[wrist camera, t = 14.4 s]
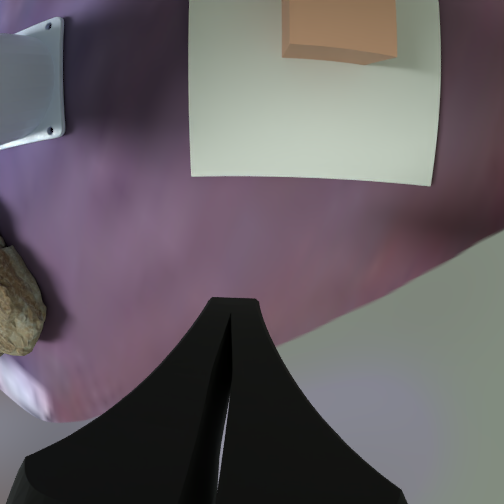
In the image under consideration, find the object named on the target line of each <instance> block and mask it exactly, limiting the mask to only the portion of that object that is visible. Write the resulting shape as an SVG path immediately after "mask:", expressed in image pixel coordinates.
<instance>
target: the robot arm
mask: <svg viewBox="0 0 504 504" xmlns="http://www.w3.org/2000/svg"><path fill="white" fill-rule="evenodd" d="M50 24H52V26H51V28H50V29H49V26H50ZM63 33H64V20H63V18H61V17H54V18H52V19H49V20H46V21H44V22H41V23H39V24H36V25H34V26H31V27H29V28H27V29H24V30H22V31H20V32H18V33H15V34H6V33H0V150H2V149H6V148H10V147H14V146H19V145H23V144H28V143H32V142H37V141H42V140H47V139H52V138H58V137H61V136H62V135H63V134H64V133H65V116H64V98H63ZM51 127H52V128H53V134H52V133H51V131H50V129H51ZM229 397H230V401H229ZM228 403H229V410H228V418H227V425H226V434H225V441H224V448H223V455H222V463H221V470H220V477H219V484H218V470H219V456H220V448H221V441H222V435H223V430H224V424H225V419H226V414H227V408H228ZM217 485H218V490H217ZM6 504H408V503H407V501H406V499H405V497H404V494H403V492H402V490H401V489H400V488H398V487H397V486H396V485H394V484H393V483H391V482H390V481H389V480H388V479H386V478H385V477H384V476H382V475H381V474H380V473H379V472H377V471H376V470H375V469H374V468H372V467H371V466H370V465H369V464H368V463H367V462H365V461H364V460H363V459H362V458H361V457H360V456H359V455H358V454H357V453H356V452H355V451H353V450H352V449H351V448H350V447H349V446H348V445H347V444H346V443H345V442H344V441H343V440H342V439H341V437H340V436H339V435H338V434H337V433H336V432H335V431H334V430H333V429H332V428H331V427H330V426H329V425H328V424H327V422H326V421H325V420H324V419H323V418H322V417H321V416H320V414H319V413H318V412H317V411H316V410H315V408H314V407H313V406H312V405H311V403H310V402H309V401H308V400H307V398H306V396H305V395H304V394H303V392H302V391H301V389H300V388H299V387H298V385H297V384H296V382H295V381H294V379H293V377H292V376H291V374H290V373H289V371H288V369H287V368H286V366H285V364H284V362H283V361H282V359H281V357H280V355H279V353H278V351H277V349H276V347H275V345H274V343H273V341H272V339H271V337H270V335H269V332H268V330H267V328H266V325H265V322H264V320H263V317H262V313H261V310H260V305H259V301H257V300H256V299H252V298H223V297H212V298H211V299H210V300H209V301H208V303H207V304H206V306H205V307H204V309H203V311H202V312H201V314H200V315H199V317H198V318H197V319H196V321H195V322H194V324H193V325H192V326H191V328H190V329H189V330H188V332H187V333H186V334H185V335H184V337H183V338H182V339H181V341H180V342H179V343H178V344H177V346H176V347H175V348H174V349H173V350H172V351H171V352H170V354H169V355H168V356H167V357H166V358H165V359H164V360H163V361H162V363H161V364H160V365H159V366H158V367H157V368H156V369H155V370H154V371H153V372H152V373H151V374H150V375H149V376H148V377H147V378H146V379H145V380H144V381H143V382H142V383H140V384H139V385H138V386H137V387H136V388H135V389H134V390H133V391H131V392H130V393H129V394H128V395H127V396H125V397H124V398H123V399H122V400H121V401H119V402H118V403H117V404H116V405H114V406H113V407H112V408H110V409H109V410H108V411H106V412H105V413H104V414H102V415H101V416H99V417H98V418H96V419H95V420H93V421H92V422H90V423H88V424H87V425H86V426H84V427H82V428H81V429H79V430H78V431H76V432H74V433H73V434H71V435H70V436H68V437H66V438H64V439H62V440H60V441H58V442H57V443H54V444H52V445H51V446H48V447H46V448H44V449H42V450H40V451H38V452H36V453H34V454H31V455H29V456H26V457H25V459H24V461H23V463H22V465H21V467H20V469H19V471H18V473H17V476H16V478H15V481H14V483H13V486H12V489H11V491H10V494H9V497H8V499H7V502H6Z"/></svg>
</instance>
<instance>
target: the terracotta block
mask: <svg viewBox="0 0 504 504" xmlns="http://www.w3.org/2000/svg"><path fill="white" fill-rule="evenodd" d="M396 57H397V22H396V2H395V0H282V58H299V59H314V60H326V61H336V62H345V63H353V64H360V65H367V64H371V63H375V62H379V61H383V60H387V59H392V58H396Z"/></svg>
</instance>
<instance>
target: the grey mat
mask: <svg viewBox="0 0 504 504" xmlns="http://www.w3.org/2000/svg"><path fill="white" fill-rule="evenodd" d="M395 2H396V22H397V57H396V58H392V59H387V60H383V61H379V62H375V63H371V64H367V65H360V64H353V63H345V62H336V61H326V60H314V59H299V58H282V0H189V35H188V86H189V131H190V158H191V177H192V176H277V177H309V178H331V179H349V180H364V181H378V182H390V183H402V184H412V185H422V186H431V180H432V173H433V166H434V158H435V150H436V141H437V131H438V119H439V105H440V83H441V37H440V16H439V2H438V0H395Z"/></svg>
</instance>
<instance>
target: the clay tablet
mask: <svg viewBox="0 0 504 504" xmlns="http://www.w3.org/2000/svg"><path fill="white" fill-rule="evenodd" d="M5 246H6V245H5V242H4V239H3V238H2V237H1V236H0V356H2V355H3V354H4V353H6V354H10V355H18V356H24V355H27V354H29V353H30V352H32V350H33V348H34V346H35V344H36V342H37V341H38V338H39V336H40V333H41V331H42V328H43V323H44V321H45V319H46V306H45V305H44V303H43V302H42V297H41V293H40V290H39V287H38V285H37V283H36V280H35V278H34V277H33V275H32V274H31V273H30V271H29V270H28V269H27V267H26V265H25V263H24V261H23V259H22V258H21V256H20V255H19V254H18V253H17V251H16V250H15V248H14V247H13V245H12V246H9V247H5Z"/></svg>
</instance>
